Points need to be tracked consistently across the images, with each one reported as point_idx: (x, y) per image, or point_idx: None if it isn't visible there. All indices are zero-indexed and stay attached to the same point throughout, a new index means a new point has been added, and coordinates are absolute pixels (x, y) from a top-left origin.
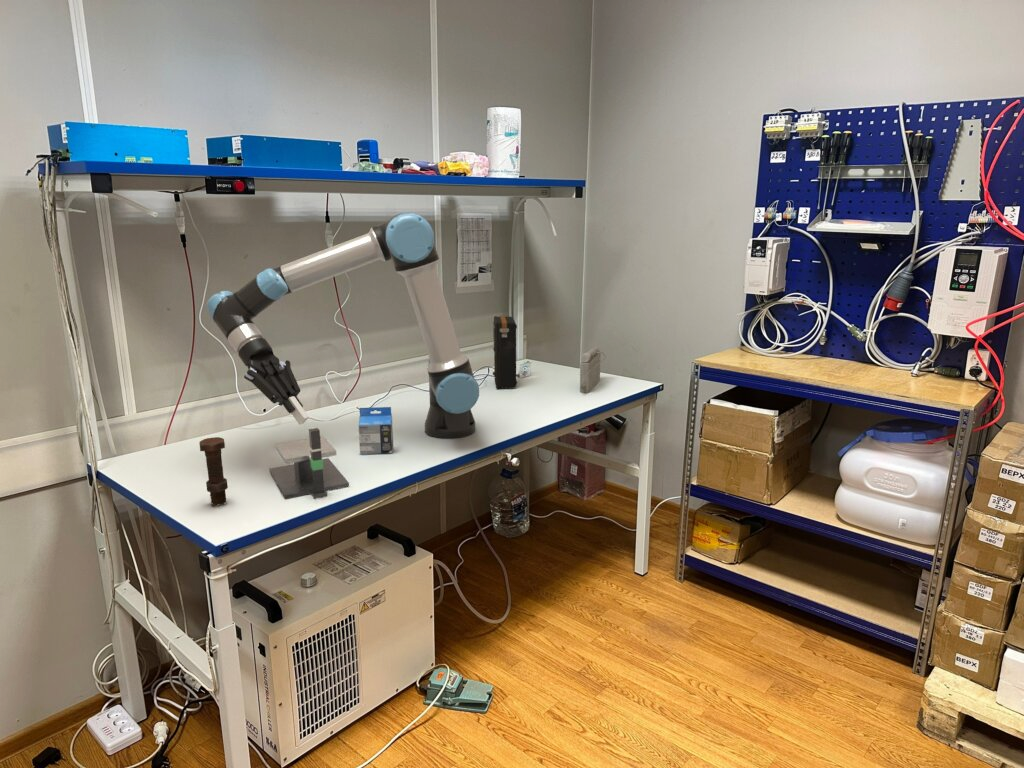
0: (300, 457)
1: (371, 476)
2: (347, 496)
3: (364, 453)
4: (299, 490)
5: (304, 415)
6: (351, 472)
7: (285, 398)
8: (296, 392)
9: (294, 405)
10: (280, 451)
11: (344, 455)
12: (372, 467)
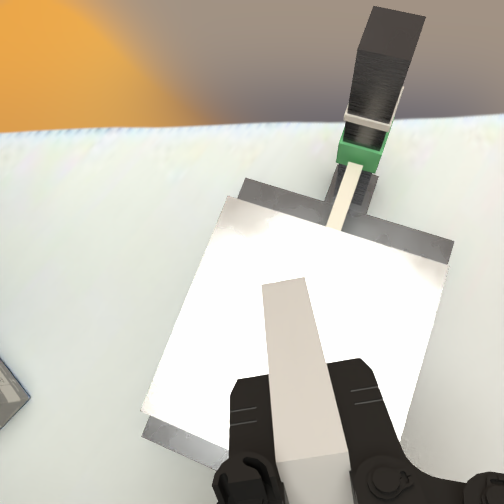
0: (378, 245)
1: (150, 200)
2: (295, 128)
3: (19, 385)
4: (395, 239)
5: (289, 291)
6: (165, 276)
7: (395, 462)
8: (235, 469)
9: (327, 370)
10: (412, 382)
11: (66, 444)
12: (94, 261)
